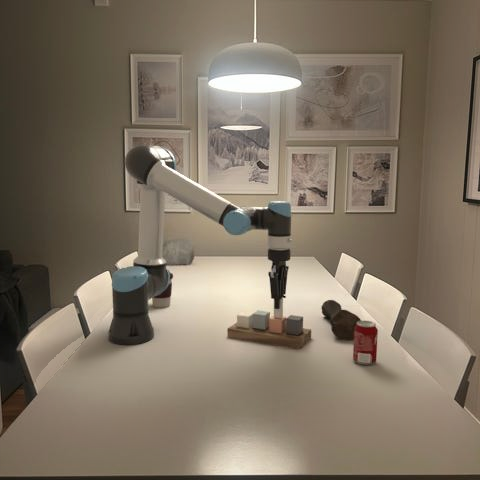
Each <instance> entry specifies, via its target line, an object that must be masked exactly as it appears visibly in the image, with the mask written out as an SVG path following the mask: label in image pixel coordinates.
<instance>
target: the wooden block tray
mask: <svg viewBox="0 0 480 480" xmlns="http://www.w3.org/2000/svg"><path fill="white" fill-rule="evenodd" d="M226 332H227V333H226V334H227V338H231V339H236V340H243V341H249V342H255V343H262V344H268V345H273V346H280V347H284V348H291V349H297V350H301V348H303V347H304V346H305V345H306V344H307V342H309V341H310V340H311V338H312V329H310V328H305V327H303V331H302V332H301V333H300V334H299V335H295V334H289V333H286V331H285V332H283V333H282V334H281V333H275V332H269V327H268V328H266V329H265V330H263V329H257V328H253V326H252V327H250V328H244V327H237V322H235V323H234V324H232V325H230V326H229V327H227V329H226Z"/></svg>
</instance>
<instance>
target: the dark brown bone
mask: <svg viewBox="0 0 480 480" xmlns="http://www.w3.org/2000/svg"><path fill="white" fill-rule="evenodd" d="M321 314H322V315H323V316H324V317H325V318H326V319H330V325H331V332H332V333H333V335H334V336H335V337H336V338H337V339H339V340H341V341H354V328H355V326H356V325H357V322H358V321H362V320H361V318H360V317H359V316H358V315H356V314H355V313H353V312H351V311H349V310H347V309H342V305H341V304H340V303H339V302H337V301H336V300H334V299H328V300H326V301H323V303H322V305H321Z"/></svg>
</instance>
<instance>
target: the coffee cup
mask: <svg viewBox="0 0 480 480" xmlns="http://www.w3.org/2000/svg"><path fill="white" fill-rule="evenodd" d="M167 270H168V271H169V274H170V282H169V285H168V287H167V288H166V289H165V290H164V291H163V292H162V293H161V294H160V295H158V296H155V297H153V298H151V301H152V306H153V307H154V308H159V309H160V308H161V309H162V308H163V309H164V308H169V307H170V306H171V299H172V298H171V297H172V288H173V287H172V286H173V282H172V280H173V278H174V274H173V273H172V272H170V270H169V269H167Z"/></svg>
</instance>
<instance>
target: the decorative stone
mask: <svg viewBox="0 0 480 480" xmlns="http://www.w3.org/2000/svg"><path fill="white" fill-rule="evenodd" d="M162 257H163V258H164V259H165V261H166V266H189V265H190V264H192V263H193V262H194V259H195V246H194V243H192V242H191V241H190V240H188V239H186V238H183V237H179V236H170V237H168V238H166V240H165V241H163V250H162Z"/></svg>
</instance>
